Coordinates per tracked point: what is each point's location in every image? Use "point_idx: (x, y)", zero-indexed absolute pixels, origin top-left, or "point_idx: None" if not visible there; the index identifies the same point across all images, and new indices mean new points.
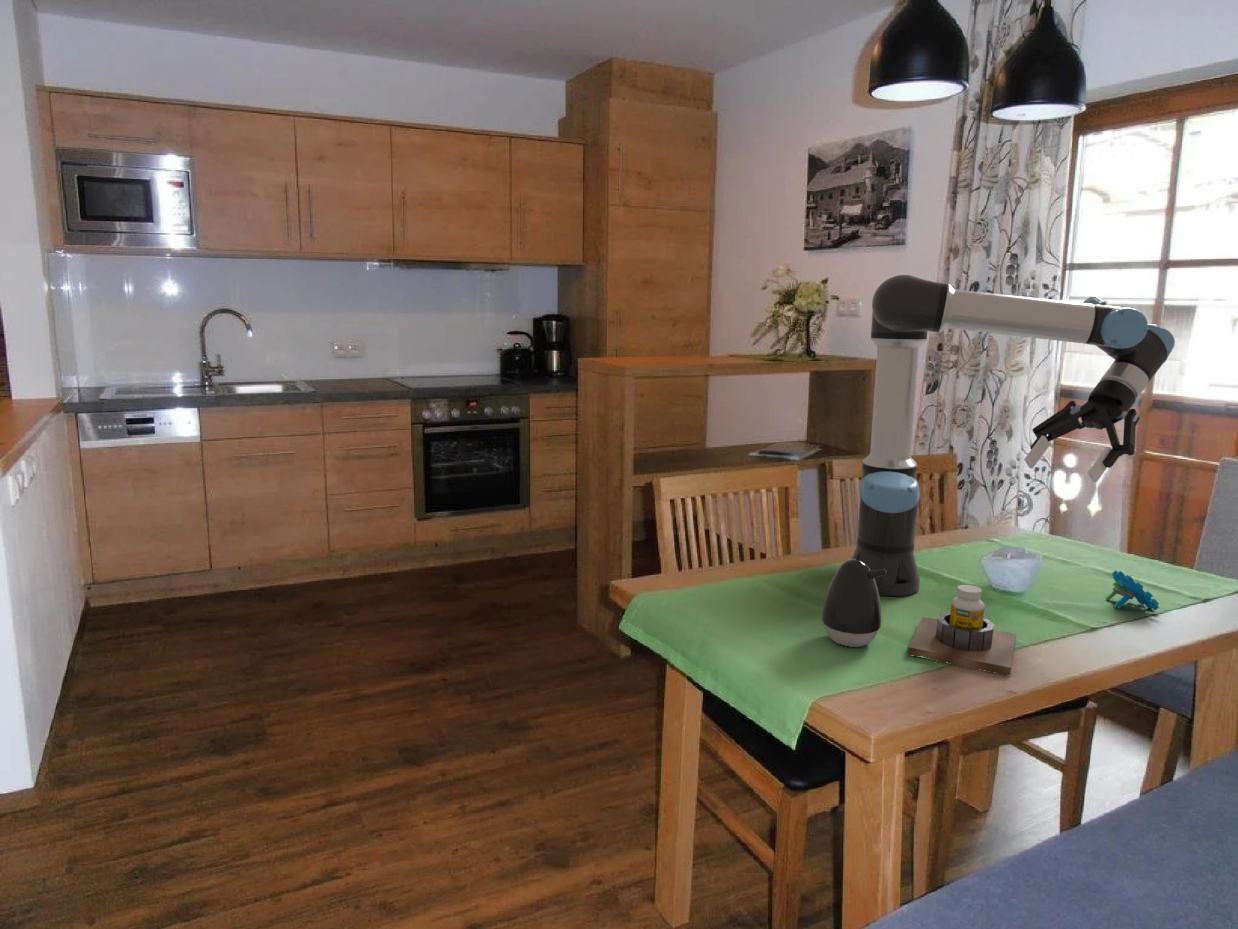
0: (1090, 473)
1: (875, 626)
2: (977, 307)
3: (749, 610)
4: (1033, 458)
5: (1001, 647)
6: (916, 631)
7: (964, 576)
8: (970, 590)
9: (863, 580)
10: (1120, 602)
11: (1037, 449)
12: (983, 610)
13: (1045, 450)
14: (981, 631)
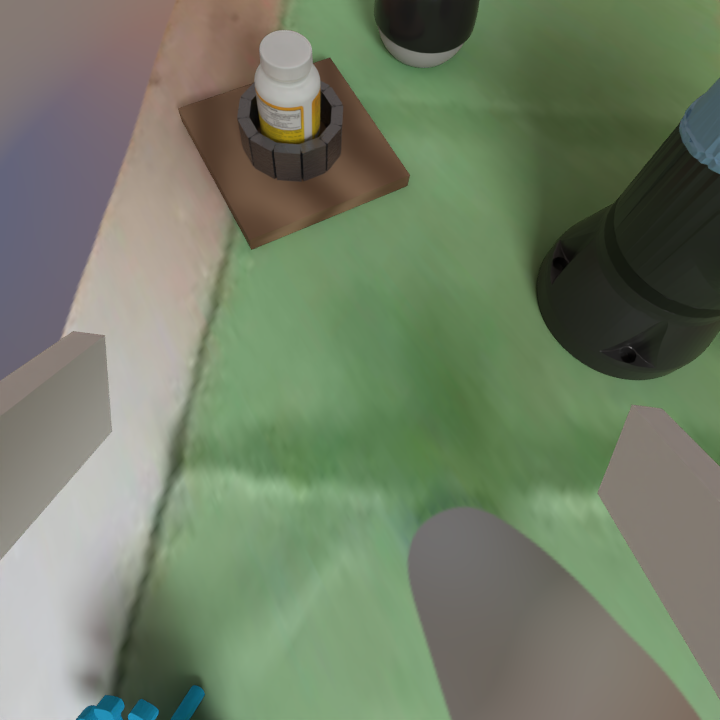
0: (83, 336)
1: (375, 5)
2: None
3: (596, 26)
4: (642, 480)
5: (232, 164)
6: (366, 113)
7: (588, 541)
8: (277, 41)
9: None
10: (185, 699)
11: (697, 512)
12: (255, 88)
13: (699, 656)
14: (244, 95)
